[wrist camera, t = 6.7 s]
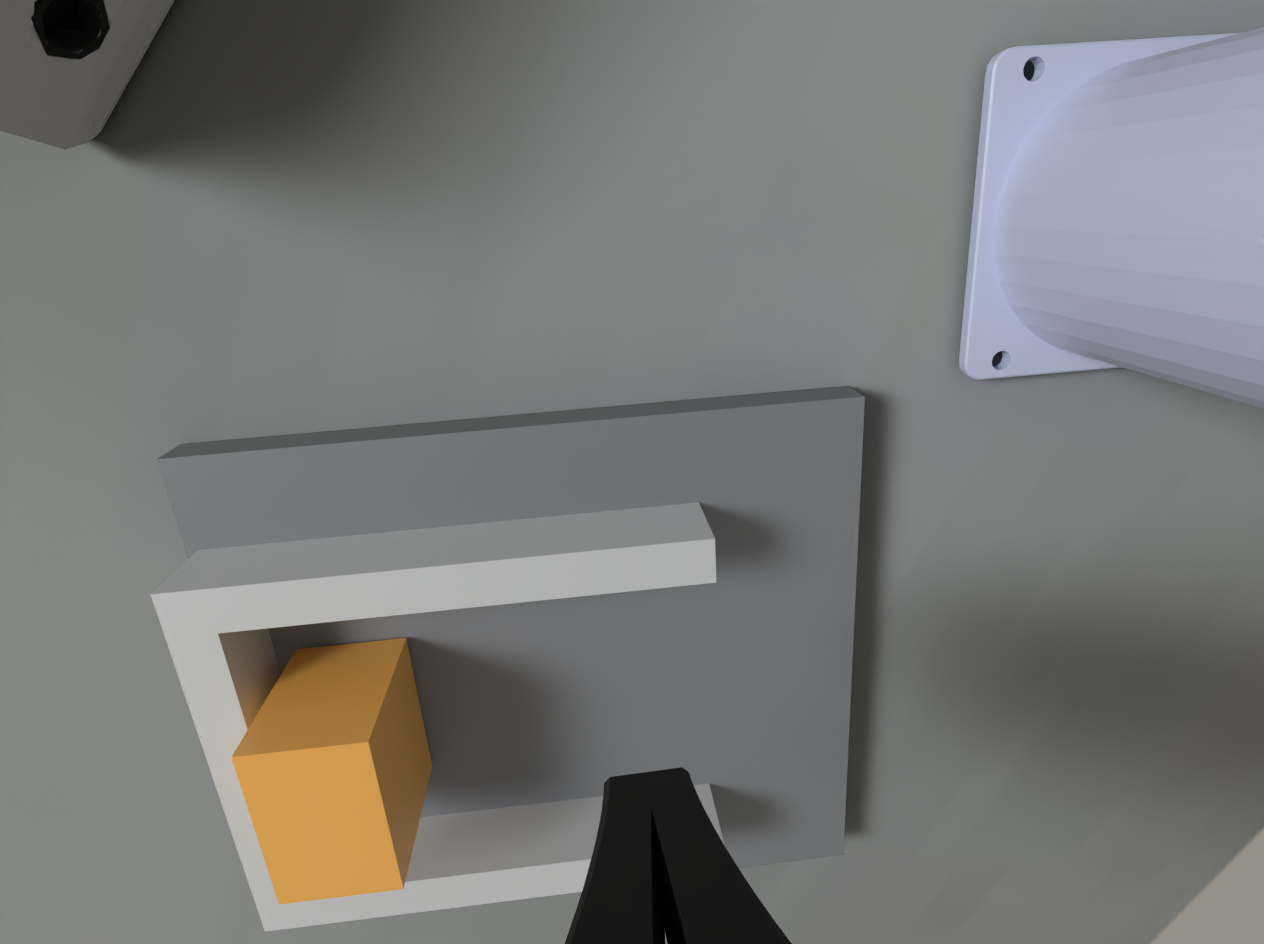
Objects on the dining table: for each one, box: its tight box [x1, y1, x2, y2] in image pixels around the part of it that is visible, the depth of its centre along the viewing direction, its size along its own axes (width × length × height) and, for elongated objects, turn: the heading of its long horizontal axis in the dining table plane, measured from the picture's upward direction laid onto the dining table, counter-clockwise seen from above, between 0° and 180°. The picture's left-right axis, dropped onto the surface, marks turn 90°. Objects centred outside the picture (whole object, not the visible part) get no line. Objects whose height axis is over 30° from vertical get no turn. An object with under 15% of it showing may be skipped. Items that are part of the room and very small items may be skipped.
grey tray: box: [151, 386, 865, 931], centre depth 21 cm, size 18×16×4 cm
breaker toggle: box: [231, 638, 432, 905], centre depth 19 cm, size 3×4×4 cm, turn 4°
